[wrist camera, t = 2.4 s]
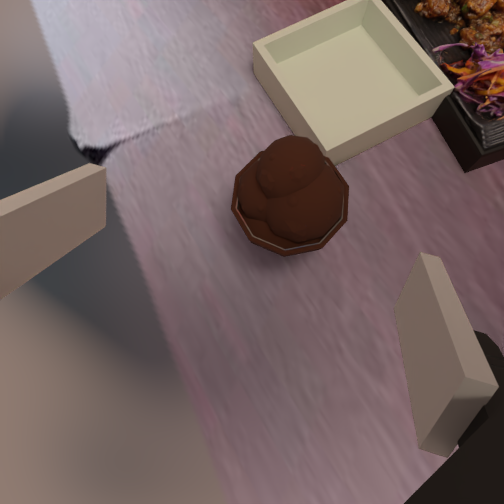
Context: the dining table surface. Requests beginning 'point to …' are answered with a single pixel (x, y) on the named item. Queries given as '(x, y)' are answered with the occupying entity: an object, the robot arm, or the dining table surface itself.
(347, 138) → the bin
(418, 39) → the food platter
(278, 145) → the ice cream bowl
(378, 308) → the dining table surface
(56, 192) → the robot arm
